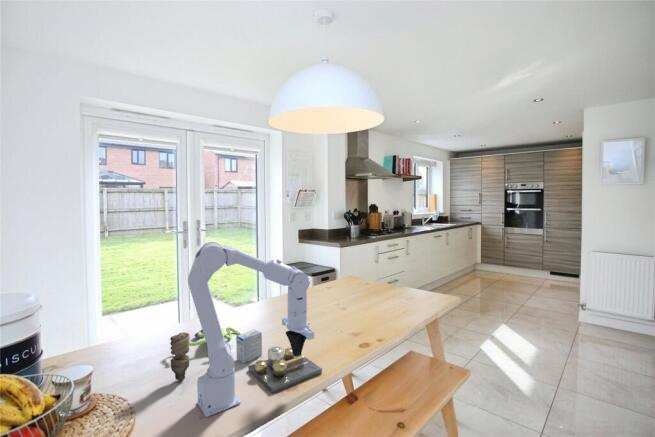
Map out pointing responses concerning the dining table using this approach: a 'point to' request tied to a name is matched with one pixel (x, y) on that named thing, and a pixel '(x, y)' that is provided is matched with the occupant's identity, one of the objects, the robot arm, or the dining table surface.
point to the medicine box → (249, 345)
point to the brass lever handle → (286, 365)
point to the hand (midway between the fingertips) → (297, 354)
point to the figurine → (201, 334)
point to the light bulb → (180, 354)
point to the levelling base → (293, 375)
